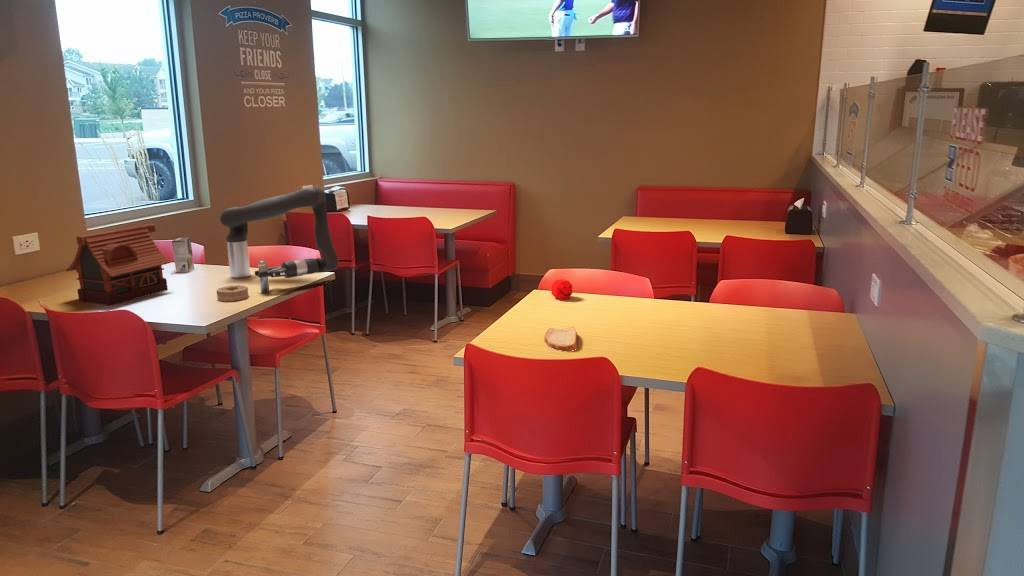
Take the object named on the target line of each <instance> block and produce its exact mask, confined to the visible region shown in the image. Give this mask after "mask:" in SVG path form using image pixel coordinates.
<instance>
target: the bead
mask: <svg viewBox="0 0 1024 576" xmlns="http://www.w3.org/2000/svg"><path fill="white" fill-rule="evenodd" d="M216 297H217V300H218V299H219V301H220V300H222V301H221V302H236V301H235V300H237V301H242V300H245V299H248V297H249V288H248V286H246V285H240V284H239V285H238V284H234V285H226V286H221V287H219V288H217V289H216Z"/></svg>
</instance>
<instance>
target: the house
mask: <svg viewBox="0 0 1024 576" xmlns="http://www.w3.org/2000/svg"><path fill="white" fill-rule="evenodd" d="M155 227H156V225H155V224H154V223H145V224H140V225H139V224H138V225H134V226H129V227H125V228H120V229H114V230H109V231H103V232H96V233H92V234H91V233H90V234H85V235H80V236H76V244H77V246H78V248H77V251H76V254H75V257H74V258H73V259H74V260H73V261H72V263H71V264H70V265H69V267H67V269H65V271H66V272H72V271H75V272H76V273H77V276H78V277H77V278H76V280H77V281H79V288H77V296H78V301H79V302H82V303H93V304H99V305H104V306H113V305H117V304H121V303H124V302H128V301H132V300H135V299H134V298H136V299H139V298H143V297H145V295H147V296H149V295H148V294H150V295H153V294H152V293H154V294H157V293H156V292H158V293H161V292H164V291H163V290H165V291H167V290H168V289H169V288H168V281H167V278H165V277H164V274H163V270H165V268H163V267H162V266H164V265H168V264H171V262H172V261H170V260H169V259H168V258H167V256H165V255H164V253H162V251H161V250H160V249H159V247H158V245H157V244H156V243H155V241H154V240H153V237H152V236H151V233H155V232H156V228H155ZM160 291H161V292H160ZM142 296H143V297H142ZM138 297H139V298H138Z"/></svg>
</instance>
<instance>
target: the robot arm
mask: <svg viewBox="0 0 1024 576" xmlns="http://www.w3.org/2000/svg"><path fill="white" fill-rule="evenodd" d="M301 208H312V212H313V214H314V215H313V216H314V232H313V233H314V240H315V244H316V248H317V250H318V252H320V253H321V255H322V257H318V258H305V259H293V260H287V261H283V262H282V263H281V266H279V265H274V266H272V265H271V266H267V271H266V272H259V270H255V271H254V276H256V277H258V278H259V279H260V278H262V277H267V276H268V278H281V277H284V278H285V279H291V278H292V279H293V278H298V277H303V276H307V275H313V274H317V273H318V274H319V273H326V272H331V271H334V270H336V269H337V268H338V266H339V257H338V255H337V253H336V250H335V248H334V245H333V241H332V236H331V233H330V227H329V219H328V212H327V211H328V210H327V209H328V208H327V196H326V193H325V191H324V190H323V189H322V188H320V187H316V186H308V187H304V188H302V189H299V190H296V191H293V192H291V193H286V194H281V195H276V196H270V197H267V198H264V199H261V200H258V201H255V202H253V203H250V204H248V205H244V206H241V207H240V206H233V207H230V208H229V207H228V208H226V209H224V210H223V211H222V212H221V214H220V216H219V220H220V223H221V224H222V225H223V226H224V227H226V228H229V230H228V233H227V234H226V236H225V240H226V248H227V249H226V250H227V256H228V267H229V276H230V278H237V279H238V278H246V277H249V276H251V266H250V257H249V248H248V234H249V229H248V222H253V221H254V222H255V221H261V220H268V219H272V218H276V217H280V216H283V215H285V214H287V213H289V212H290V211H292V210H296V209H301Z"/></svg>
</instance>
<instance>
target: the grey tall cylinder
mask: <svg viewBox="0 0 1024 576" xmlns="http://www.w3.org/2000/svg"><path fill="white" fill-rule="evenodd" d="M267 262H268V261H267V260H258V261H257V267H258V268H257V269H258V271H259V272H266V271H267V267H268V263H267ZM259 286H260V293H261V294H269V293H270V284H269V277H268V276H267V277H262V278H259Z"/></svg>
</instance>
